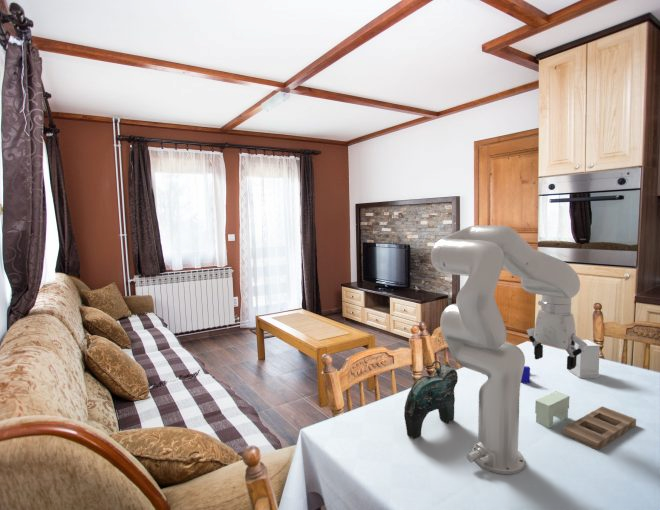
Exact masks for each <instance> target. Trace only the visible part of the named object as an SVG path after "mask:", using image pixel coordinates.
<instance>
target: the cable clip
mask: <svg viewBox="0 0 660 510" xmlns="http://www.w3.org/2000/svg"><path fill="white" fill-rule="evenodd" d="M530 378H531V368H530V366H527V365H526V366H525V365H524V370H523V374H522V378H521V384H530V382H531V379H530Z"/></svg>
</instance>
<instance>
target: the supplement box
mask: <svg viewBox="0 0 660 510" xmlns="http://www.w3.org/2000/svg"><path fill="white" fill-rule="evenodd" d="M581 340H582V341H584V342H585V343H586V344H587V347H586V348H585V350H584V351H583V352H582V353H580V354H579V355H577V360H576V367H575V368H573V369H571V370H568V372H570V373H571V374H573V375H575V376H576V377H578V378H579V379H591V378H592V379H593V378H594V379H595V378H597V379H598V378H599V370H600V347H601V346H600V345H599V344H597V343H596V342H593V341H591V340H589V339H581ZM574 347H575V348H576V350H577V349H578V347H579V345H578V344H577V343H575V346H574Z"/></svg>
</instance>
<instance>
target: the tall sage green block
mask: <svg viewBox="0 0 660 510" xmlns="http://www.w3.org/2000/svg"><path fill="white" fill-rule="evenodd" d="M569 409H570V395H569V394H566V393H563V392H560V391H557V390H556V391H554V392H551V393H548V394H547V395H544V396H542V397H540V398H538V399H536V400H535V412H534V413H535V423H537V424H539V425H542V426H544V427H547V428H548V429H550V428H552V427H553V426H554V417H556V418H558V419H561V420H564V421H566V419H569V418H568V417H569Z"/></svg>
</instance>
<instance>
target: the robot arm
mask: <svg viewBox="0 0 660 510" xmlns="http://www.w3.org/2000/svg"><path fill="white" fill-rule="evenodd" d="M430 261H431V265H432V266H433V268H434V269H435V270H437V272H440V273H443V274H447V275H456V276H462V277H463V276H464V277H467V280H466V281H465V283H464V284H463V286H462V287H461V288H460V290H459V291H458V292H457V295H456V299H455V300H456V301H455V303H452V304H449V305H448V306H446V307H445V308H444V310H443V311H442V312H441V315H440V318H439V319H440V321H439V322H440V323H439V324H440V325H439V327H440V333H441V335H442V338H443V339H444V341H445V343H446V345H447V347H448V349H449V351H450V353H451V355H452V356H453V358H454V360H455V361H456V363H457V364H458V365H460V367H463V368H466V369H468V370H471V371H474V372H477V373H480V374H482V375H485V376H486V377H487V380H486V381H484V383H482V385H480V387H479V390H478V416H477V417H478V422H477V423H478V426H477V428H478V429H477V430H478V434H477V439H478V440H477V442H476V443H475V444H473V446H472V448H471V452H469V453H468V454H466V459H467V461H468V462H469V463H473V462H476V464H477V465H479V467H482V468H483V469H484V470H487V471H489V472H492V473H494V474H495V473H496V474H500V475H514V474H517V473H519V472H522V471H523V469H524V467H525V466H526V465H525V462H526V461H525V457H524V455H523V454H522V453H521V452H520V451H519V435H520V434H519V432H520V431H519V426H520V396H521V395H520V394H521V393H520V392H521V384H522V383H521V378H522V374H523V370H524V366H525V364H526V358H525V353H524V352H523V351H522V349H521V348H520V347H518V346H517V345H516V344H514V343H511V342H509V341H507V336H508V334H507V333H508V332H507V328H506V325H505V321H504V319H503V317H502V314H501V312H500V310H499V307H498V305H497V301H496V297H495V293H496V288H497V285H498V282H499V279H500V276H501V273H502V270H503V269H504V270H505V271H506V272H508V273H509V274H510V275H512V276H514V277H516V278H520V285H521V287H522V288H523V290H524V291H526V292H527V293H528V294H533V295H538V296H539V295H540V296H541V300H538V302H537V304H538V306H540V308H541V309H539V310H538V312H537V315H536V319H535V325H534V326H535V327H532V328H528V329H526V332H527V335H528V338H529V340H530V342H531V343H532V346H533V347H534V350H533V354H534V359H535V360H539V359H542V358H543V355H544V345H545V346H548V347H552V348H556V349H560V350H565V351H566V352H567V354H568V356H567V357H566V370H568V371H569V370H571V369H573V368H575V367H576V360H577V355H579V354H580V353H582V352H583V351H584V350H585V348H586V347H587V344H586V343H585V342H584V341H582V340H583V339H581V338H579V337H578V335H576V334H577V333H576V323H575V317H574V314H573V313H572V298H574V297H576V296H577V295H578V293H579V291H580V290H581V289H580V287H581V280H580V276H579V275H578V273H577V272H576V270H574V268H573V267H572V266H571V265H570V264H569V263H567V262H565V261H563V260H562V259H559V258H557V257H555V256H552V255H550V254H547V253H544V252H542V251H540V250H537V249H534V248H533V247H532V246H531V245H530V244H529V243H528V242H527V241H526V240H525V239H524V238H523V237H522V236H521V235H520V233H518V232H517V231H516V230H515V229H513V228H511V227H509V226H506V225H486V224H485V225H483V224H481V225H477V224H476V225H470V226H467V227H465V228H462V229H460V230H457V231H455V232H453V233H451V234H449V235H446V236H445V237H442V238H440V239H439V240H438V241H437V242H436V243H435V244H434V245H433V246H432V249H431V252H430ZM575 343H577V344H578V345H579V347H578V349H577V350H576V348H575V347H574V346H575Z"/></svg>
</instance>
